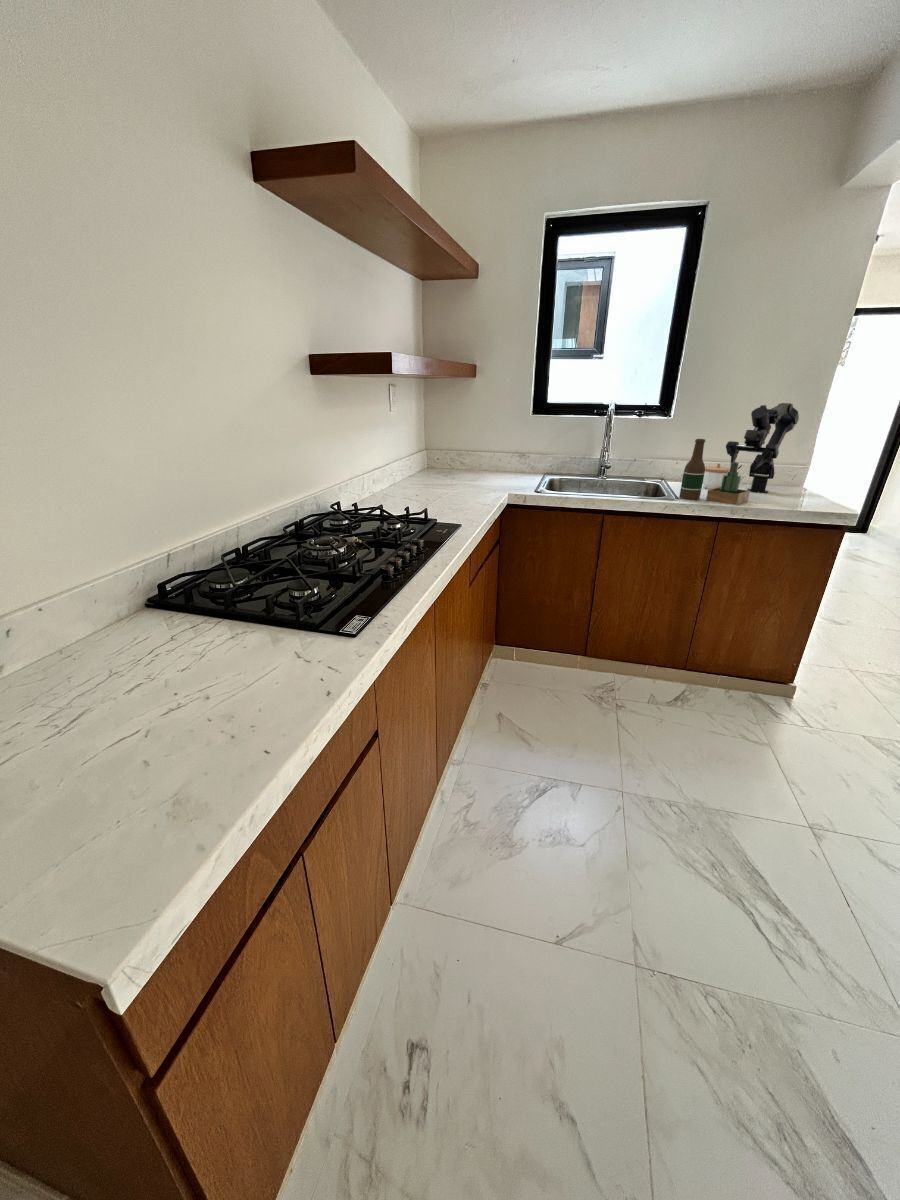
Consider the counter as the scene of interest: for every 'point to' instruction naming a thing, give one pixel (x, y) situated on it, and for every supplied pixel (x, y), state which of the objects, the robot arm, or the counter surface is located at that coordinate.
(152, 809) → the counter surface
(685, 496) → the beer bottle
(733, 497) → the wooden tray
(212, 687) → the counter surface
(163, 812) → the counter surface
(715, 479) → the lidded bowl
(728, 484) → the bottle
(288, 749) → the counter surface
